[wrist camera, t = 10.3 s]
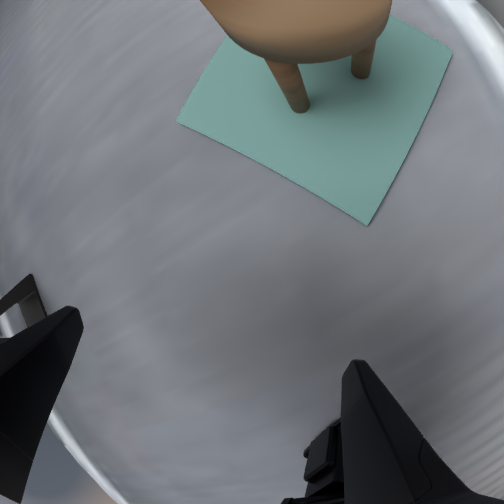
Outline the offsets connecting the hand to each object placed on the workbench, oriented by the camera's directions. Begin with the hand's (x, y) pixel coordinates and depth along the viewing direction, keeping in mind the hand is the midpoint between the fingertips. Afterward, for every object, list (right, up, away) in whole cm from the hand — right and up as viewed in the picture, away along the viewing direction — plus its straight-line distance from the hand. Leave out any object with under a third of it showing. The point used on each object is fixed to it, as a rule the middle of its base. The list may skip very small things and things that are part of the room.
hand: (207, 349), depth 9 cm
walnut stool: (+5, +14, +7) cm, 16 cm away
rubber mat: (+6, +14, +7) cm, 17 cm away
